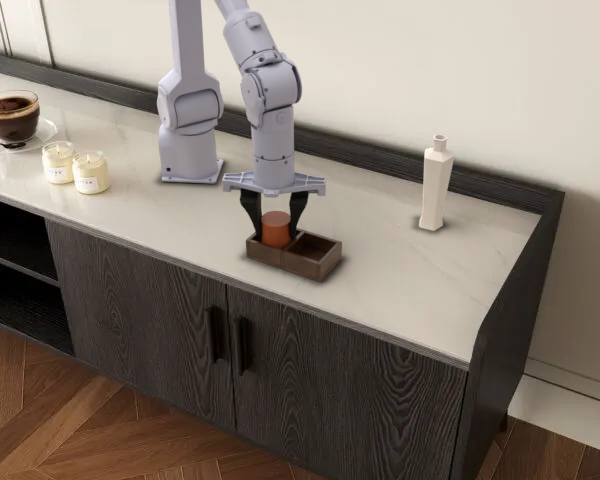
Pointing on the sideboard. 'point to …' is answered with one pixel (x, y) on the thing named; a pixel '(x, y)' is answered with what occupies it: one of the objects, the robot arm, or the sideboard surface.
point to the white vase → (435, 182)
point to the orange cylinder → (276, 229)
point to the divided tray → (299, 254)
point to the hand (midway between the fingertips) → (276, 233)
